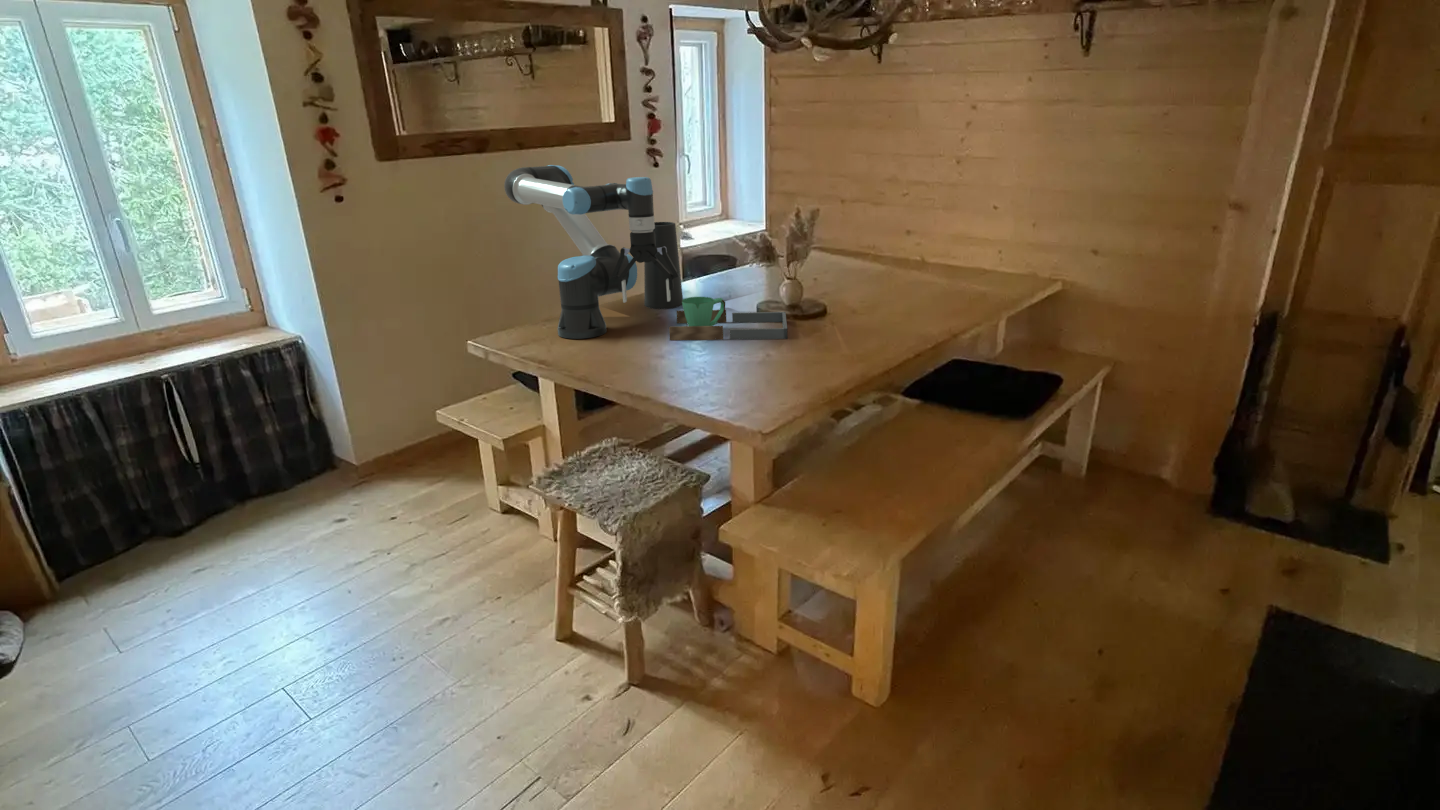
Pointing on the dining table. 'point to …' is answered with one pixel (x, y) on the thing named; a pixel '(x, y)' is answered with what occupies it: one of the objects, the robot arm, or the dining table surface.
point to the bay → (696, 329)
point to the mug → (702, 310)
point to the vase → (656, 277)
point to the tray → (762, 332)
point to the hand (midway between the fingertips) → (646, 301)
